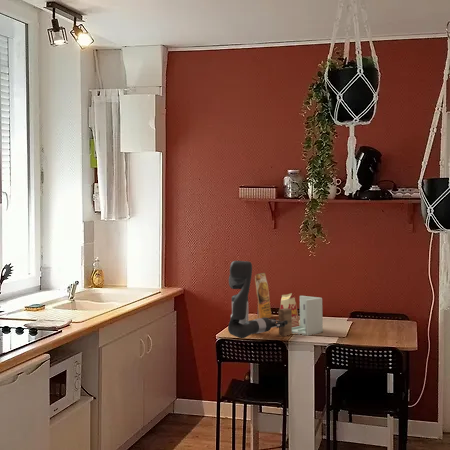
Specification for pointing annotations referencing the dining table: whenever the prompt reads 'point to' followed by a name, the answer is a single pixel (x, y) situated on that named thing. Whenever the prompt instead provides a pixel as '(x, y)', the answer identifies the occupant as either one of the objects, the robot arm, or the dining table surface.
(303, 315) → the cabinet frame
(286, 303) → the red cream food bag
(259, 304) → the pancake mix bag
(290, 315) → the brown wooden block
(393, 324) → the dining table surface
